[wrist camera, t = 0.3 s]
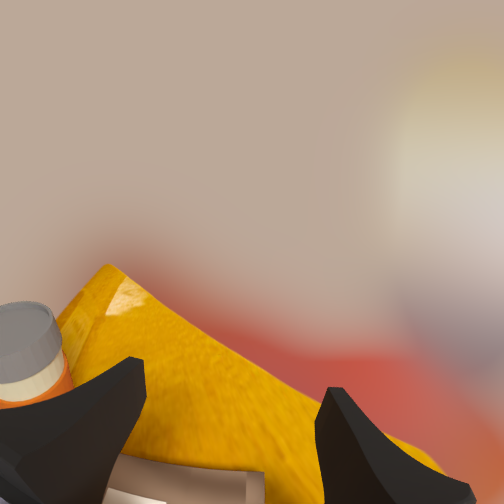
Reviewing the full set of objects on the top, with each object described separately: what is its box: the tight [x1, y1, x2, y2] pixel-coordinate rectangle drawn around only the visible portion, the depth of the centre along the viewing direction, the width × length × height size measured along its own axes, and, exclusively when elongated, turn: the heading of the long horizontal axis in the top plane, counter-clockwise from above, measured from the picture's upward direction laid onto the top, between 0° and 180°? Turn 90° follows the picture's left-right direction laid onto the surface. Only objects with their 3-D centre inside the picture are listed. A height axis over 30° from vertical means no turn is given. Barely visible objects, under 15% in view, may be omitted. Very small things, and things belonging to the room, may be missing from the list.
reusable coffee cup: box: [0, 301, 74, 409], centre depth 23 cm, size 13×13×15 cm
